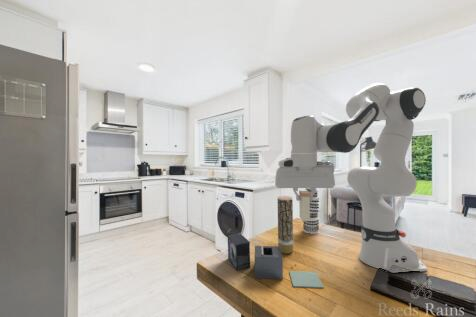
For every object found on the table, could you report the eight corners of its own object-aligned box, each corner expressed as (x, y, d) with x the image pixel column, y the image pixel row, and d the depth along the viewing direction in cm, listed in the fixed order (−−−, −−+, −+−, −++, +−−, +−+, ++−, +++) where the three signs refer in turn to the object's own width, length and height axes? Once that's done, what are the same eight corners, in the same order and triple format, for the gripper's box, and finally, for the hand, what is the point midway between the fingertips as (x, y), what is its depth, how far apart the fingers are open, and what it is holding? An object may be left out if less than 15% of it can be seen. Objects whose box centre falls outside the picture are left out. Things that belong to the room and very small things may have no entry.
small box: (227, 258, 90) (226, 234, 90) (240, 255, 93) (240, 232, 93) (235, 271, 80) (235, 244, 80) (251, 267, 83) (250, 241, 83)
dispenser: (280, 266, 84) (279, 245, 83) (282, 279, 75) (282, 256, 74) (255, 265, 84) (254, 244, 84) (254, 278, 76) (254, 255, 75)
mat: (316, 272, 78) (316, 271, 78) (323, 288, 69) (323, 286, 69) (289, 271, 79) (289, 270, 79) (293, 286, 70) (293, 285, 70)
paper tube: (293, 254, 93) (292, 199, 92) (278, 253, 94) (277, 198, 94) (292, 248, 99) (292, 196, 99) (278, 247, 101) (277, 195, 100)
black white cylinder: (322, 233, 117) (322, 189, 117) (307, 234, 115) (307, 190, 115) (314, 227, 126) (313, 186, 126) (299, 229, 124) (299, 187, 124)
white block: (306, 216, 76) (306, 189, 76) (310, 221, 71) (309, 192, 71) (299, 216, 77) (299, 189, 76) (302, 220, 72) (302, 192, 71)
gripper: (331, 160, 76) (331, 198, 76) (274, 161, 78) (275, 198, 78) (337, 161, 70) (338, 202, 70) (275, 162, 71) (276, 202, 72)
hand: (304, 200), depth 74 cm, fingers closed on white block, 2 cm apart
